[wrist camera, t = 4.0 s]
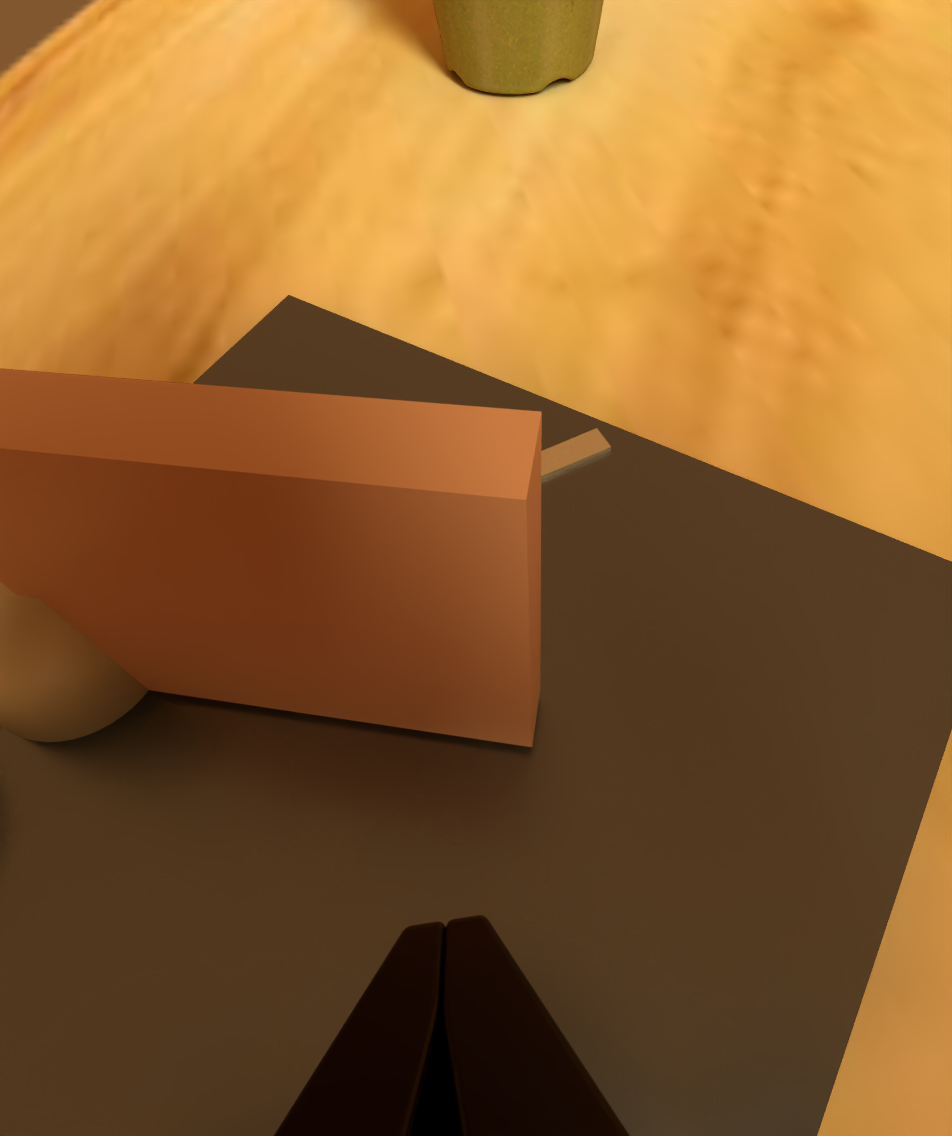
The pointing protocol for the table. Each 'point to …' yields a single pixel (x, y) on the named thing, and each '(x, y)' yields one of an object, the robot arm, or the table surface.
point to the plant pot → (517, 41)
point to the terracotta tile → (266, 555)
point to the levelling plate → (501, 811)
